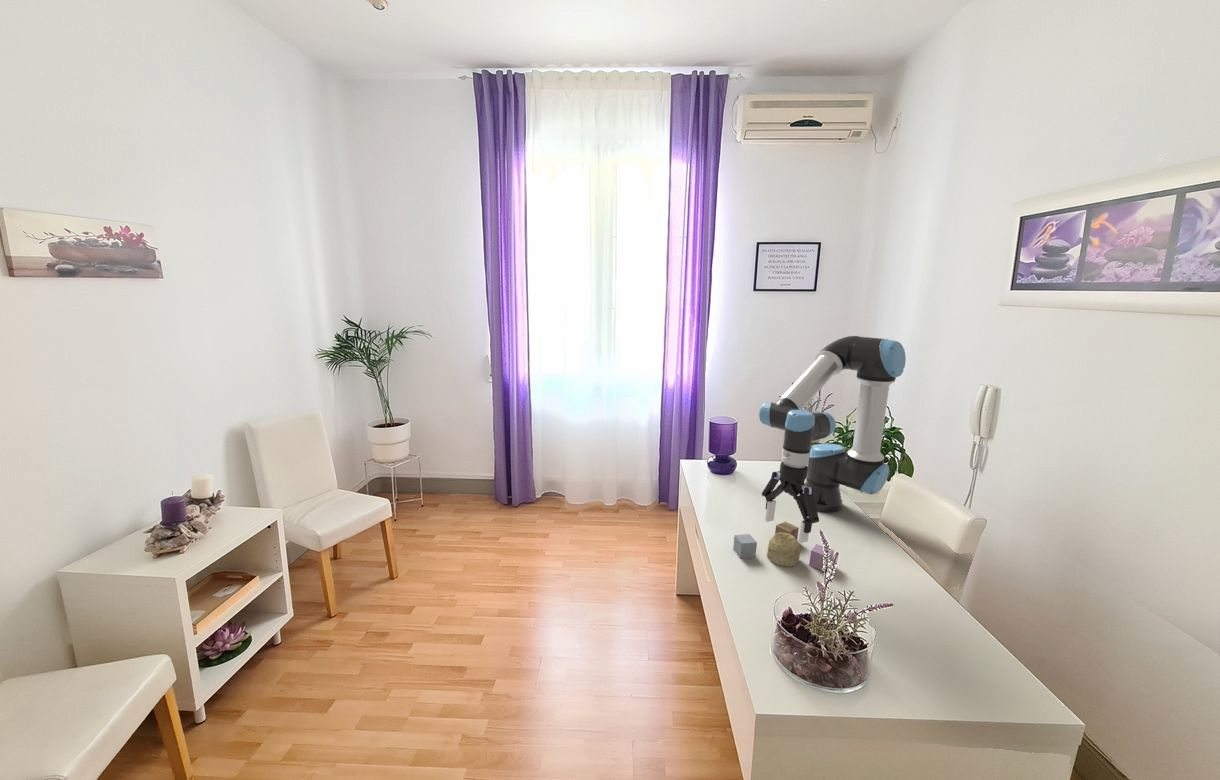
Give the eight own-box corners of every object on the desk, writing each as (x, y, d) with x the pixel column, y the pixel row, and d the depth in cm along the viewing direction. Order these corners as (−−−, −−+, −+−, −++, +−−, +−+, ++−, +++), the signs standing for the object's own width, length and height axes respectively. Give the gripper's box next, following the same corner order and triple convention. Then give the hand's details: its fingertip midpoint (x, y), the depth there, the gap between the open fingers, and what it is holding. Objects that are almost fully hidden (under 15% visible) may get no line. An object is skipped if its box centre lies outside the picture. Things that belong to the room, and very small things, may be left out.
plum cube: (814, 558, 150) (816, 544, 149) (831, 565, 147) (833, 550, 146) (809, 565, 147) (811, 550, 146) (826, 572, 144) (828, 556, 143)
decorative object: (790, 580, 145) (812, 555, 143) (762, 559, 146) (784, 534, 144) (783, 565, 154) (804, 541, 153) (757, 545, 155) (778, 521, 153)
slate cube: (748, 548, 155) (749, 534, 154) (755, 557, 150) (757, 542, 149) (733, 549, 154) (734, 535, 153) (740, 558, 149) (741, 543, 148)
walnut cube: (783, 535, 164) (785, 521, 163) (797, 541, 160) (798, 527, 159) (774, 539, 161) (776, 525, 160) (787, 546, 157) (789, 531, 156)
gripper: (754, 451, 152) (747, 514, 157) (819, 481, 130) (809, 554, 135) (773, 448, 156) (765, 511, 160) (839, 477, 134) (828, 548, 138)
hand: (785, 530), depth 148 cm, fingers open, 13 cm apart
